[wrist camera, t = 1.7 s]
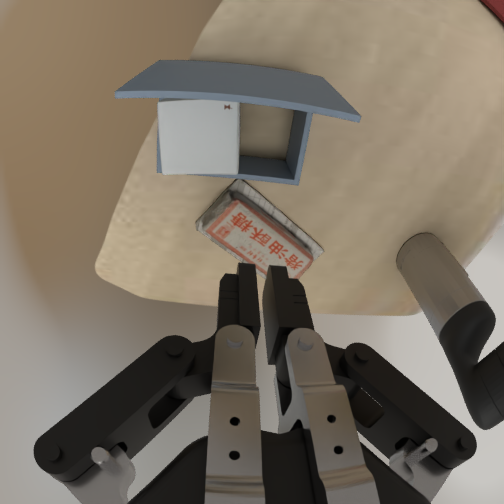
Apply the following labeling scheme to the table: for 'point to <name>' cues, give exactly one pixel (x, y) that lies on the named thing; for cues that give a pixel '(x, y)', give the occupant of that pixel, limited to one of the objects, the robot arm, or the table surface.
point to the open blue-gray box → (271, 167)
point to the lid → (239, 86)
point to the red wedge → (496, 7)
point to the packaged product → (257, 232)
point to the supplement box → (199, 136)
